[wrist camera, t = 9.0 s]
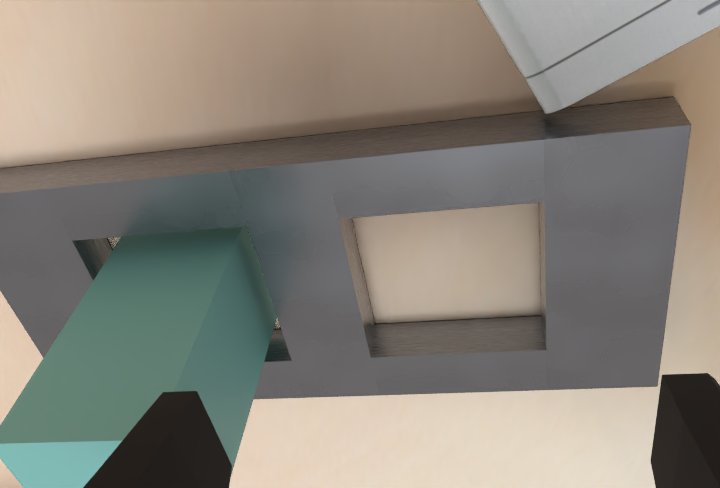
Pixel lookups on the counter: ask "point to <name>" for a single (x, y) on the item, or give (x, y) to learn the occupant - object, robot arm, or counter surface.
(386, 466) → the counter surface
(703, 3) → the hard drive
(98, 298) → the teal peg
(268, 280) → the steel rail
